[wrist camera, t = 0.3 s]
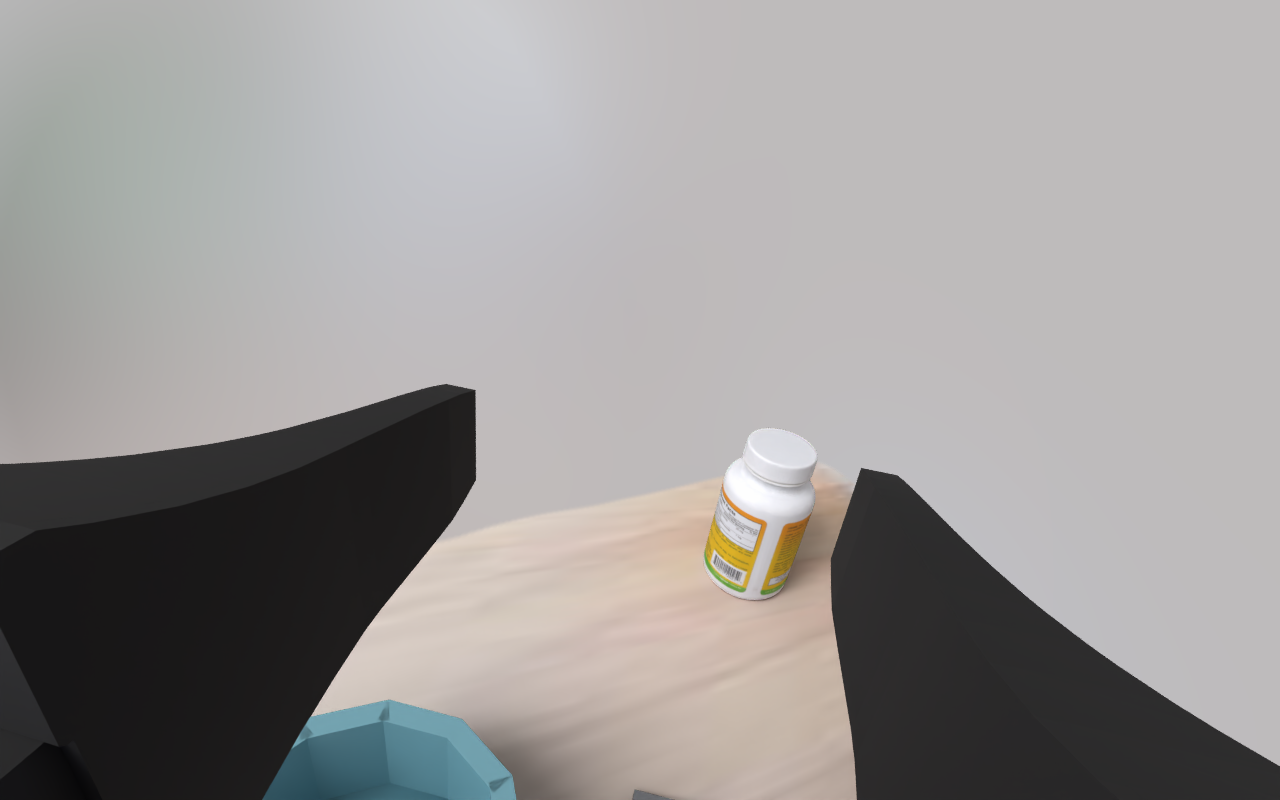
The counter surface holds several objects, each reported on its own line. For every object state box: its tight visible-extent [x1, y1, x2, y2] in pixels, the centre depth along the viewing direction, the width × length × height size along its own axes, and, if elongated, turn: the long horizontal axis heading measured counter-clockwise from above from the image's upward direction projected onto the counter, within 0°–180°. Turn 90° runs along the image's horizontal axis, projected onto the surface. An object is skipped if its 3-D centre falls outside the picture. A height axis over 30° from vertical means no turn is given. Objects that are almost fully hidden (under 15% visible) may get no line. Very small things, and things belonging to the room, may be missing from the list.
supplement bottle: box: [704, 428, 817, 600], centre depth 36 cm, size 5×5×10 cm
